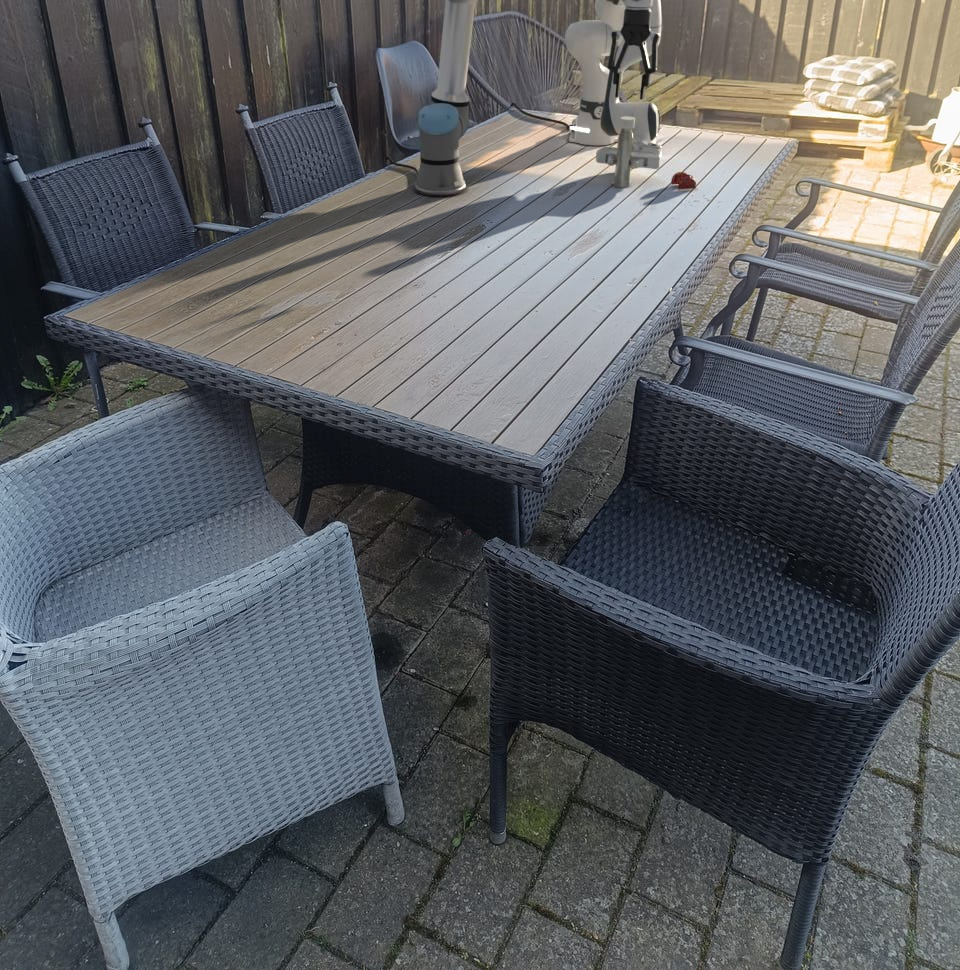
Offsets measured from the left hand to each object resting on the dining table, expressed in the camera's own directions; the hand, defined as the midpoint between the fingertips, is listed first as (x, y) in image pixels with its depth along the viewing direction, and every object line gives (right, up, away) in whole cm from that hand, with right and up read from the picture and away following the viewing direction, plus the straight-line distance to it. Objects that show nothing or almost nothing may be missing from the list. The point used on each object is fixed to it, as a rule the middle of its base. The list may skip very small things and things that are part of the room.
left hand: (629, 97), depth 247 cm
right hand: (0, -16, +10) cm, 19 cm away
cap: (0, -5, +3) cm, 6 cm away
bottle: (0, -21, +15) cm, 25 cm away
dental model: (+19, -22, +13) cm, 32 cm away
